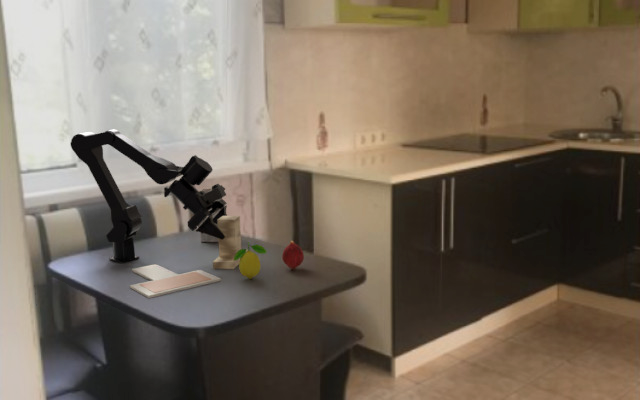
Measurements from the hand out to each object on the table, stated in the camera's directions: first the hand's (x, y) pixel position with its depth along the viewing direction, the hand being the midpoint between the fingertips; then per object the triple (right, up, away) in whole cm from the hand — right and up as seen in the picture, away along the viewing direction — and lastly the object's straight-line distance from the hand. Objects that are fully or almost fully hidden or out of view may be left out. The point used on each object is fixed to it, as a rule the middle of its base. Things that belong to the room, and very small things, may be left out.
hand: (229, 234), depth 191 cm
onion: (+19, -9, -8) cm, 22 cm away
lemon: (+8, -11, -16) cm, 21 cm away
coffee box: (-9, -3, +29) cm, 31 cm away
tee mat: (-16, -11, -13) cm, 23 cm away
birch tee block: (0, -8, +1) cm, 8 cm away
